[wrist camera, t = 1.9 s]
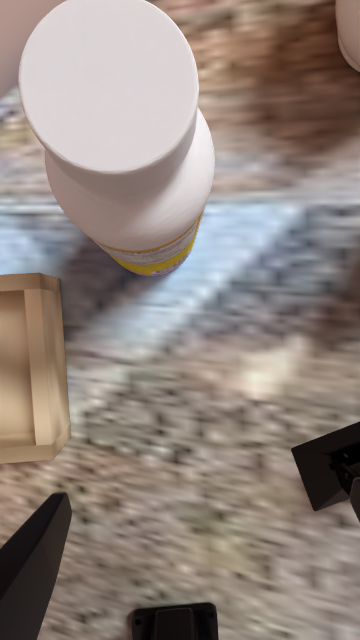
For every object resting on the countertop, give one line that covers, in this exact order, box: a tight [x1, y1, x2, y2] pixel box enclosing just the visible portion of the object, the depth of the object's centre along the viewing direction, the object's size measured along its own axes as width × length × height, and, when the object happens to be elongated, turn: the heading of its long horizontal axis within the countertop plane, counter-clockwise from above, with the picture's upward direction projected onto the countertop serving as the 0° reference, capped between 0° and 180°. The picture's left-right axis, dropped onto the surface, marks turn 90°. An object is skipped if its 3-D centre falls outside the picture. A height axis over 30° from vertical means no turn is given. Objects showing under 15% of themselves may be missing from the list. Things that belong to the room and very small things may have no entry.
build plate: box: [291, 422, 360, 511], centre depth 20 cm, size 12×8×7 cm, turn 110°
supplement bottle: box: [19, 0, 215, 276], centre depth 13 cm, size 7×7×13 cm
